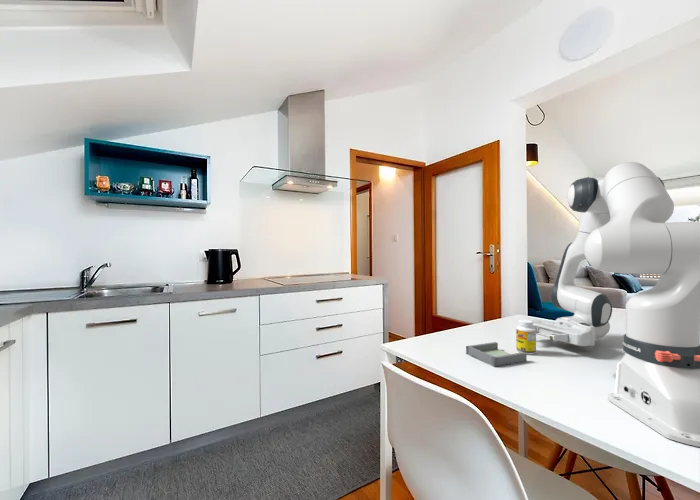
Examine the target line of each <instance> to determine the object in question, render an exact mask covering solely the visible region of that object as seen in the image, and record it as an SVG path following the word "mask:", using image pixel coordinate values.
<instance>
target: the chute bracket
mask: <svg viewBox="0 0 700 500" xmlns="http://www.w3.org/2000/svg"><path fill="white" fill-rule="evenodd" d="M465 351H466V352H465V355H468V356H470V357H472V358H474V359H477V360H479V361H481V362H483V363H484V364H487V365H490V366H492V367H494V368H498V367H504V366H509V365H514V364H515V365H516V364H520V363H526V362H527V354H526V353H525V352H521V353H519V352H517V353H508V352H507V351H504V350H501V349H499V344H498V342H497V341H493V342H485V343H479V344H473V345H466V346H465Z"/></svg>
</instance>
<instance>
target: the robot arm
mask: <svg viewBox="0 0 700 500" xmlns="http://www.w3.org/2000/svg"><path fill="white" fill-rule="evenodd" d="M665 186H666V185H665V182H664V181H663V180H662V179H661V178H660V177H659V176H657V175H656V174H655V173H654V172H653V171H652V170H651V169H650V168H648V167H647V166H646V165H644V164H642V163H640V162H635V161H628V162H623V163H619V164H617V165H615V166H613V167H611V168H610V169H609V170H608V171H607V172H606V173H605V175H602V176H594V177H590V176H587V177H582V178H579V179H577V180H574V181H573V182H572V183H571V184H570V186H569V189H568V191H567V194H566V195H567V196H566V198H567V202H568V207H569V208H570V209H571V210H572V211H574V212H577V213H581V214H580V217H579V223H578V228H577V233H576V237H575V239H574V240H573V241H572V242H570V243H569V244H568V245H567V246H566V248H565V250H564V253H563V255H562V258H561V261H560V265H559V268H558V272H557V276H556V279H555V281H554V284H553V286H552V288H551V290H550V293H549V299H550V301H551V303H552V305H553V306H554V307H555V308H557V309H560V310H563V311H567V312H570V313H573V315H572V316H562V317H557V318H556V319H555V320H554V321H553V322H551V321H546V320H542V319H541V320H540V319H539V320H537V319H536V320H535V319H534V320H531V321H532V322H533V327H534V328H535V329H536V335H539V336H543V337H545V338H549V340H551V341H553V342H557V341H558V342H561V343H564V344H566V345H567V344H568V345H569V344H571V345H574V346H578V347H595V345H596V340H599V339H601V338H604V337H605V336H606V335H607V334H608V333H610V330H611V325H610V319H611V317H612V313H613V305H612V302H611V300H610V298H609V297H608V296H607V294H604V293H601V292H597V291H595V290H591V289H587V288H583V287H580V286H578V285H577V284H575V278H576V275H577V271H578V269H579V267H580V266H579V265H580V264H581V262H582V261H584V260H586V262H588V263H589V265H590V266H591V267H592V268H593V269H595V270H597V271H603V272H608V273H613V274H614V273H615V274H621V275H659V279H658V281H657V283H656V284H655V285H654V286H653V287H652V288H649V289H645V290H644V291H640V292H638V293H635V294H634V295H632V296H631V297H630V298H629V299H628V300H627V301H626V303H625V333H624V334H623V337H622V338H623V339H622V345H623V348H622V349H623V350H622V351H623V352H624V355H623V356H622V358H621V359H620V360H619V361H618V362H617V364H616V370H615V382H614V383H615V384H614V392H611V393H608V396H607V400H608V401H609V402H610V403H612V404H613V405H615V406H617V407H619V408H620V409H622V410H623V411H624V412H626V413H628V414H629V415H631V416H632V417H633V418H635V419H637V420H638V421H640V422H641V423H643V424H644V425H646V426H648V427H649V428H651V429H653V431H655V432H657V433H659V434H660V435H662V436H663V437H665V438H667V439H669V440H673V441H676V442H678V443H682V444H686V445H690V446H694V447H699V448H700V221H679V222H677V221H675V222H668V221H669V219H670V218H671V217H672V215H673V214H674V211H675V203H674V201H673V199H672V198H671V196H670V194H669V192H668V191H667V189H666V188H665Z"/></svg>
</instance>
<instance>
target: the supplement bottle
mask: <svg viewBox="0 0 700 500" xmlns="http://www.w3.org/2000/svg"><path fill="white" fill-rule="evenodd" d="M515 328H516V331H515V333H516V343H515V344H516V346H515V347H516V351H517V353H521V352H525V353H526V355H532V356H533V355H535V354H536V353H537V334H536V329H535V328H534V327H533V322H532V320H529V319H519V320H518V325H517V326H516V327H515Z"/></svg>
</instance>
